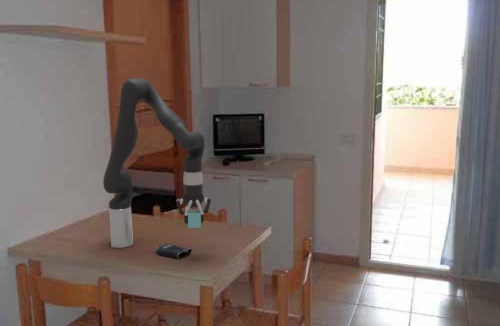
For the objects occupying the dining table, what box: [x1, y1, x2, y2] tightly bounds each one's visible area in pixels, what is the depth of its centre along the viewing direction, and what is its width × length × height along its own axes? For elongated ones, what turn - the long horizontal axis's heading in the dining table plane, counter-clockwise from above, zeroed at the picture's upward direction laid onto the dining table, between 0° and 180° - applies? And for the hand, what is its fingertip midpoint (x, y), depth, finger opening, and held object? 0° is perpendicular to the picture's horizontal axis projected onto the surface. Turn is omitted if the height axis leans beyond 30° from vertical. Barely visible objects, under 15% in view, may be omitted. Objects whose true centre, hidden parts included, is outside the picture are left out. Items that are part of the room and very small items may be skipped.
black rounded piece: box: [155, 243, 193, 260], centre depth 208 cm, size 9×6×15 cm
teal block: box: [187, 208, 202, 229], centre depth 199 cm, size 5×5×6 cm
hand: (194, 223), depth 200 cm, fingers closed on teal block, 5 cm apart
